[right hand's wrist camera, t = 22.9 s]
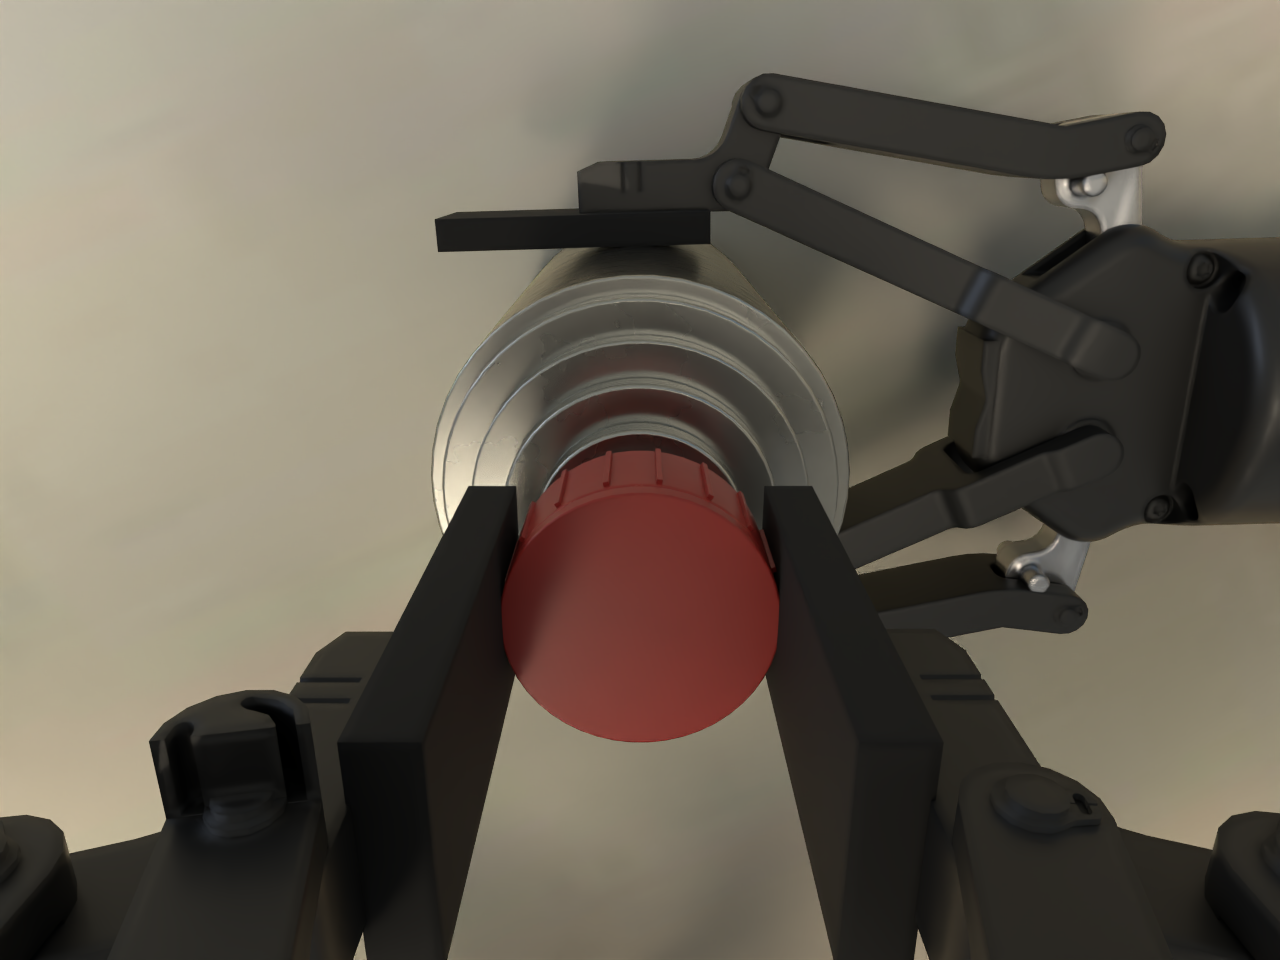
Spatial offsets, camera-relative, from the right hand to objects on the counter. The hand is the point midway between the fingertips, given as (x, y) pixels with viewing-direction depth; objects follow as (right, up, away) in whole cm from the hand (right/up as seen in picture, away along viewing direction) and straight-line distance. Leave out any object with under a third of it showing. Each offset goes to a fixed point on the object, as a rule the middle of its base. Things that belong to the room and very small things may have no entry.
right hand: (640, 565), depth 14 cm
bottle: (0, +6, +15) cm, 16 cm away
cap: (0, -1, -2) cm, 2 cm away
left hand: (-5, +3, +10) cm, 11 cm away
